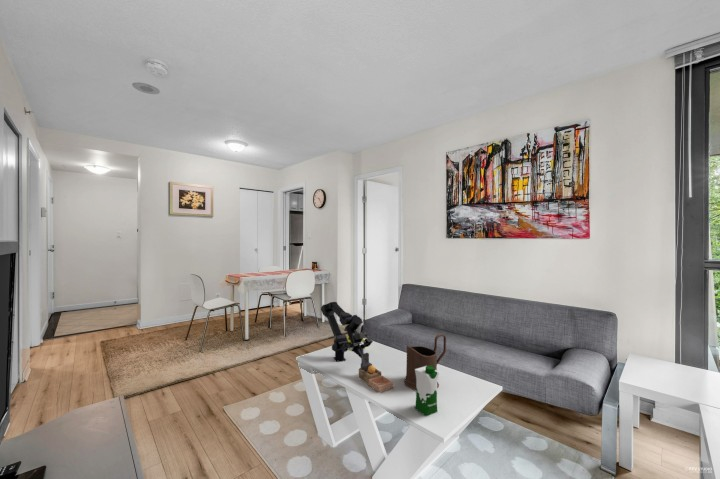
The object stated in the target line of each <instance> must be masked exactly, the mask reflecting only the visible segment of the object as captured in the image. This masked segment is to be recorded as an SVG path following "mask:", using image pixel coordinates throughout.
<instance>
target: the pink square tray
mask: <svg viewBox="0 0 720 479" xmlns="http://www.w3.org/2000/svg"><path fill="white" fill-rule="evenodd" d="M367 385H368V386H369V387H370V388H372V389H373V390H375V391H376V392H377V393H383V392H385V391H388V390H391V389H393V388H394V381H392V380H391V379H389V378H387V377H386V376H384V375H381V376H379V377H375V378H372V379H369V380H368V384H367Z"/></svg>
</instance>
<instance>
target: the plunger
mask: <svg viewBox="0 0 720 479" xmlns="http://www.w3.org/2000/svg"><path fill="white" fill-rule="evenodd" d="M360 359H361V360H360V362H361V363H360V368H361V369H362V370H364V371H368V367H369V366H371V365H372V366H373V364H372V363H371V362H370V353H369V352H364V354H362V357H361V358H360Z"/></svg>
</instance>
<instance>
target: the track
mask: <svg viewBox="0 0 720 479" xmlns="http://www.w3.org/2000/svg"><path fill="white" fill-rule="evenodd" d="M379 376H382V371H381V370H379V369H377V368H376V367H375V372H374V373H369V371H364V370H362V369H361V367H359V368H358V379H360V380H362V381H363V382H365V383H366V384H367V385H368V380H369V379H372V378H375V377H379Z"/></svg>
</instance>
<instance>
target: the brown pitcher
mask: <svg viewBox="0 0 720 479" xmlns="http://www.w3.org/2000/svg"><path fill="white" fill-rule="evenodd" d="M440 337H442V338H443V351H442V353H441V354H440V355H439V356H438V353H437V348H438V339H439V338H440ZM446 352H447V336H446V335H445V334H442V333H440V334H437V335H436V336H435V337H434V348H433V349H432V348H429V347H427V346H424V345H423V346H421V345H414V346H413V345H412V346H410V345H406V368H405V369H406V370H405V371H406V374H405V375H406V376H405V378H404V380H403V385H405V387H407V388H408V389H410V390H411V391H412V390H413V391H416V373H415V369H417V368H421V367H424V366H433V367H435V370H436V371H438V370H437V369H438V367H437V365H438V364H439V362H440V361H441V360H442V358H443V357H444V356H445V354H446ZM439 387H440V384H439V381H437V389H439Z"/></svg>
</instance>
